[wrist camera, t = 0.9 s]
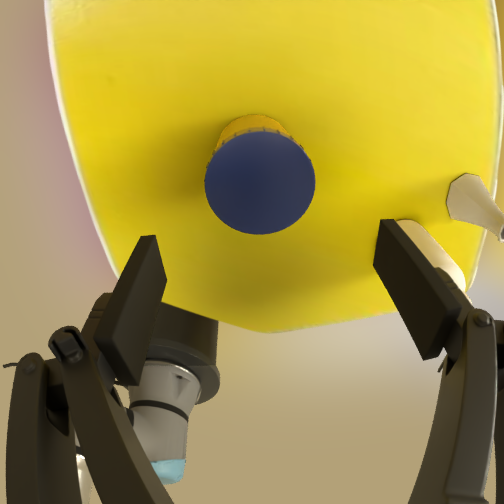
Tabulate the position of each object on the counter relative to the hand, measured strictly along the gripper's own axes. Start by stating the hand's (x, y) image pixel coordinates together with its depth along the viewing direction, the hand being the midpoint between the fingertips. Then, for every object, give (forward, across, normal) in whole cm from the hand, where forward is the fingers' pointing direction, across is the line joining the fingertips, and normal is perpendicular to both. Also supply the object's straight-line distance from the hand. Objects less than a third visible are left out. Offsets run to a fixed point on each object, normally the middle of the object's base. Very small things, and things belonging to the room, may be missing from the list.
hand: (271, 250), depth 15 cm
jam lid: (+9, 0, 0) cm, 9 cm away
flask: (+20, +29, -6) cm, 36 cm away
